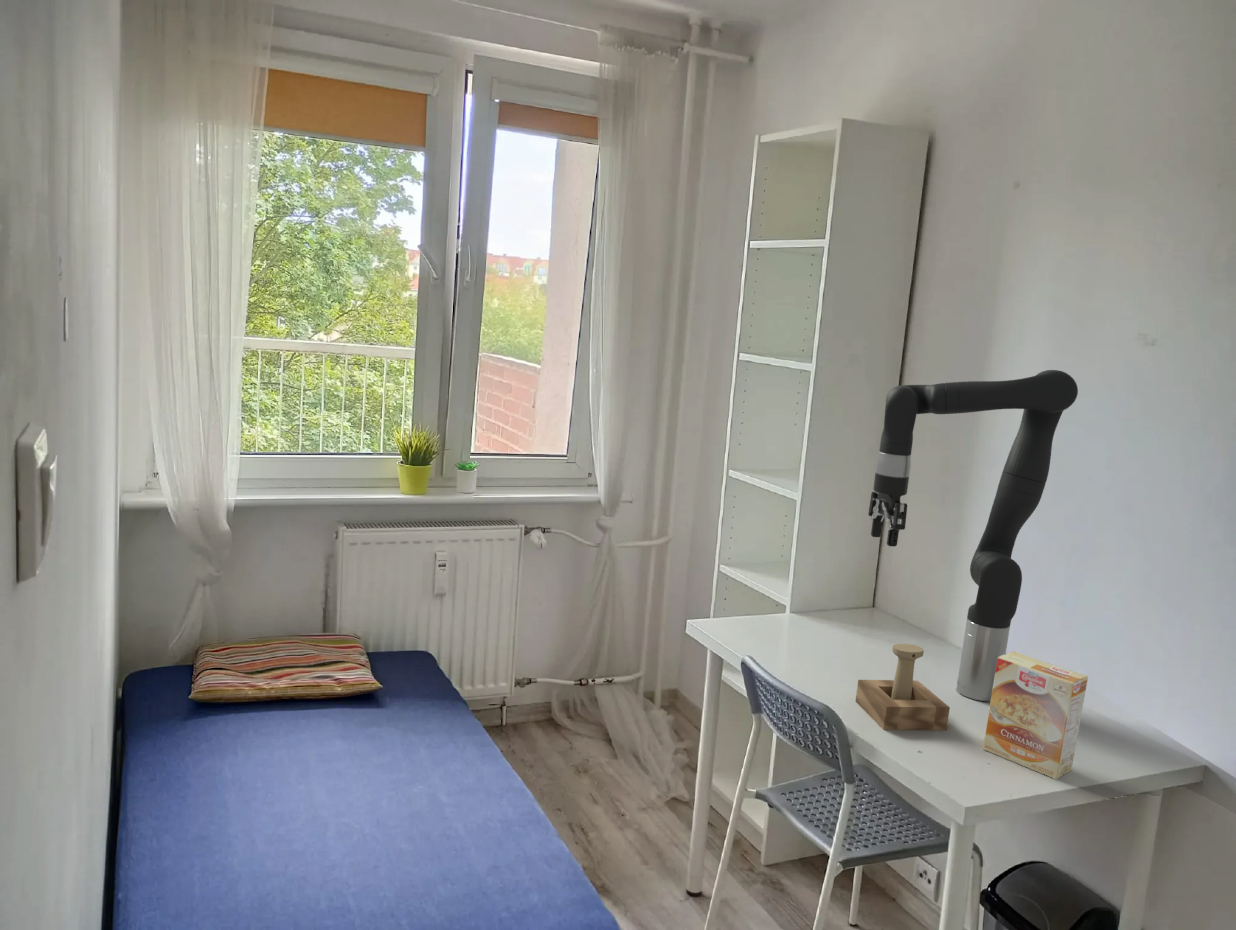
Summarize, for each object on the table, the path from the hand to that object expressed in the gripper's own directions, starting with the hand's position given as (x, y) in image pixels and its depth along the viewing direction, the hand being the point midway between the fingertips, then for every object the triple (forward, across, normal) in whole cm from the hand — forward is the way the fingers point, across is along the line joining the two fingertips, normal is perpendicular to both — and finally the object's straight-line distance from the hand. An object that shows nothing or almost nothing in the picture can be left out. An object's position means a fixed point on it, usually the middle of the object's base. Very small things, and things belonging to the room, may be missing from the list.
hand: (883, 541), depth 224 cm
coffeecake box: (+32, -44, -14) cm, 56 cm away
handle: (+32, -24, +3) cm, 40 cm away
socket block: (+32, -24, +3) cm, 40 cm away
